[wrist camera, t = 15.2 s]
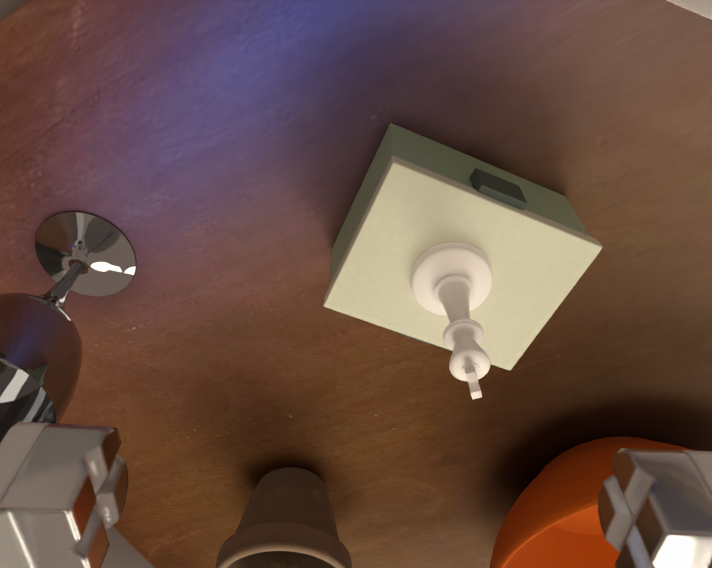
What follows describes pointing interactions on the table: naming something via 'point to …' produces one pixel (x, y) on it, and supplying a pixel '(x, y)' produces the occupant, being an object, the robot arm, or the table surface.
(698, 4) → the cylindrical container
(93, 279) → the wine glass
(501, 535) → the bowl
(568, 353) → the table surface
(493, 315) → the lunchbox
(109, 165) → the table surface
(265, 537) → the flower pot
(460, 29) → the table surface
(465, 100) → the table surface
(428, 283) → the chess piece
